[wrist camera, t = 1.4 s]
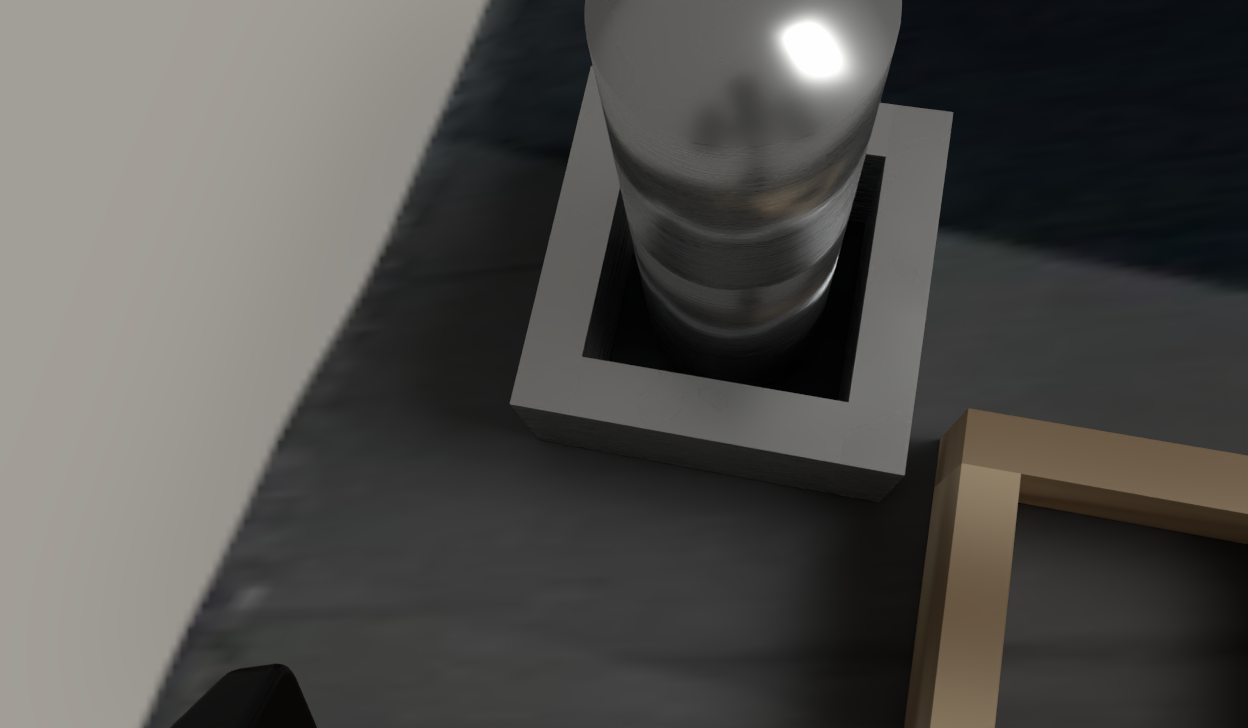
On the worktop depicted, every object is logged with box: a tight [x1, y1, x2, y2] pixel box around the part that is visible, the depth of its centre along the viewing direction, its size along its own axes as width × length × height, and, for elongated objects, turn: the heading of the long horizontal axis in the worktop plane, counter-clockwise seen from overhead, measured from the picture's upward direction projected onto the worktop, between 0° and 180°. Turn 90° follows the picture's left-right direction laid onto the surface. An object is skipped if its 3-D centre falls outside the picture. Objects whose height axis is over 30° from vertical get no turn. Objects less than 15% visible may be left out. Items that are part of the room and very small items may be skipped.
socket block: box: [510, 66, 953, 503], centre depth 20 cm, size 7×7×3 cm
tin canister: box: [585, 0, 902, 388], centre depth 17 cm, size 4×4×10 cm
